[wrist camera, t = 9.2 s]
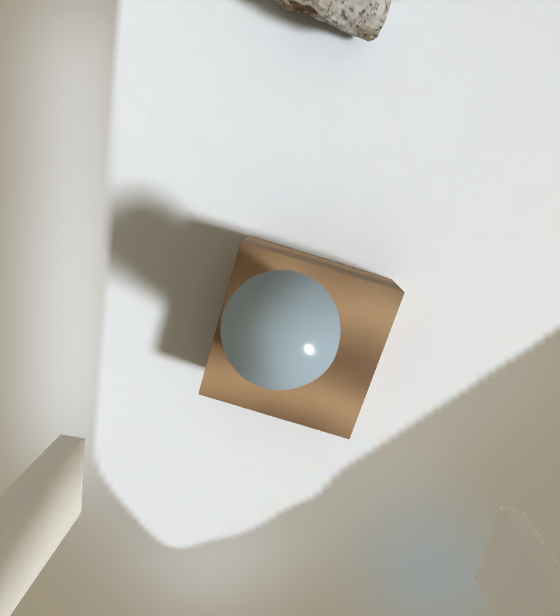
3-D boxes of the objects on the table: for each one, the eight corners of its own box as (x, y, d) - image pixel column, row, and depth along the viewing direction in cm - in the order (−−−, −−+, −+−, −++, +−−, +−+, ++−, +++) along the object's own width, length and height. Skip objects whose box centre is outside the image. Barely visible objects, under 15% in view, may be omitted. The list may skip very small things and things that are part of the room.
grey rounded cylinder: (229, 321, 31) (200, 307, 24) (309, 276, 31) (302, 248, 24) (273, 403, 30) (255, 412, 23) (356, 357, 30) (363, 352, 23)
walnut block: (249, 235, 35) (240, 242, 30) (390, 278, 35) (404, 292, 30) (212, 368, 38) (198, 394, 33) (343, 407, 38) (349, 439, 33)
